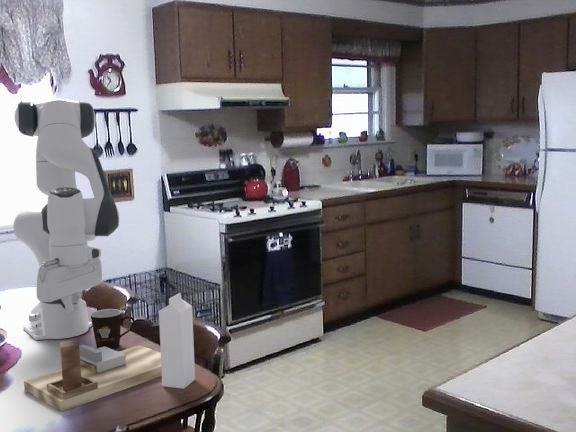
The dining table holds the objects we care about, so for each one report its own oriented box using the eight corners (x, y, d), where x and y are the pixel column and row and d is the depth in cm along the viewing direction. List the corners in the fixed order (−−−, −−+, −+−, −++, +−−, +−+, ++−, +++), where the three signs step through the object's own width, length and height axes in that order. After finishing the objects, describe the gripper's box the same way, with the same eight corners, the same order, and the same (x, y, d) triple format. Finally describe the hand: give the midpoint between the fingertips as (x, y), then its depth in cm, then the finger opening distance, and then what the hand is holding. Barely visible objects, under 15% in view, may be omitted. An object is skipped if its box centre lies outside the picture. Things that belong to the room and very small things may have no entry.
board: (24, 390, 152) (23, 374, 151) (140, 353, 176) (139, 339, 175) (61, 411, 140) (60, 394, 139) (180, 369, 164) (180, 354, 163)
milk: (162, 386, 153) (157, 298, 150) (174, 377, 158) (169, 291, 156) (184, 389, 151) (180, 299, 148) (196, 379, 157) (191, 293, 154)
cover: (77, 363, 162) (76, 345, 161) (105, 355, 167) (104, 337, 167) (97, 373, 155) (96, 353, 154) (126, 363, 161) (124, 345, 160)
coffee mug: (86, 350, 180) (84, 316, 178) (104, 340, 188) (102, 308, 186) (120, 354, 176) (118, 319, 174) (138, 344, 184) (136, 311, 182)
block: (63, 394, 143) (60, 347, 142) (63, 387, 147) (59, 342, 145) (82, 391, 145) (79, 344, 143) (81, 384, 148) (78, 339, 147)
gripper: (50, 264, 141) (54, 324, 143) (105, 248, 161) (108, 301, 162) (27, 262, 143) (31, 321, 145) (84, 248, 163) (87, 300, 164)
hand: (72, 311), depth 154 cm, fingers closed
